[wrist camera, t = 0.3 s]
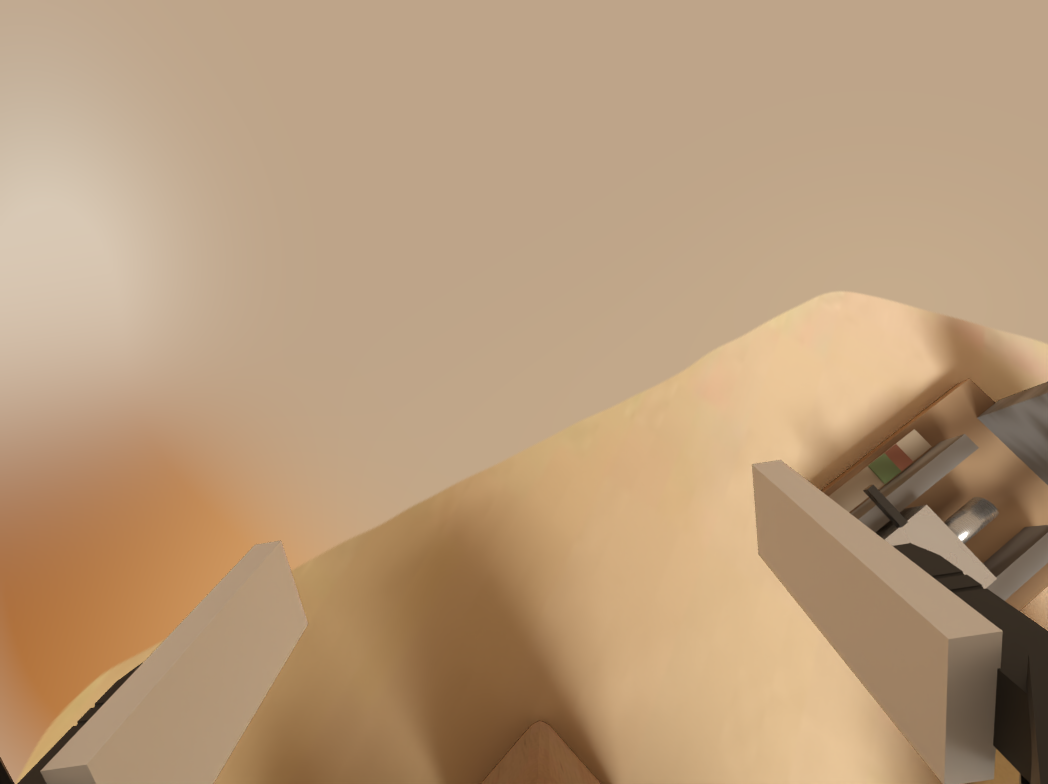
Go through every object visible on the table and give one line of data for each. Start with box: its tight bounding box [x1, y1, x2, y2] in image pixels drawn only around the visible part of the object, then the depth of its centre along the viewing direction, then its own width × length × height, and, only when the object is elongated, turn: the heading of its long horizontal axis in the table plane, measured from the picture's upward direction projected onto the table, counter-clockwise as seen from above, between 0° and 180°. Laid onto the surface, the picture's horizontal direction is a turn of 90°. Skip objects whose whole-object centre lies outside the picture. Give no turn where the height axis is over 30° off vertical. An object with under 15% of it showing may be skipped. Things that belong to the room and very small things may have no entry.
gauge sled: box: [863, 485, 999, 589], centre depth 43 cm, size 10×11×5 cm
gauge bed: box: [821, 379, 1048, 611], centre depth 42 cm, size 16×24×10 cm, turn 125°
